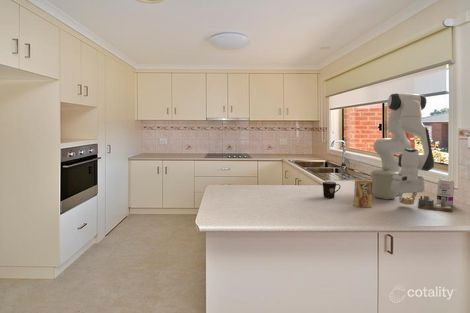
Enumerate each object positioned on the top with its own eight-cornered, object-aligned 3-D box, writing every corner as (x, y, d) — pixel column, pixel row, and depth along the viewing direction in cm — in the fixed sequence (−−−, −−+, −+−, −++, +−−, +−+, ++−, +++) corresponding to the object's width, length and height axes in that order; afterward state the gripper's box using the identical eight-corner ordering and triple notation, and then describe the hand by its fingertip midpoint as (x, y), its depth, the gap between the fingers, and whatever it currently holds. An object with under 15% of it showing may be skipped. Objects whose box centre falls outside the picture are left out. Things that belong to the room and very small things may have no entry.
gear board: (418, 207, 174) (418, 196, 174) (418, 204, 183) (418, 193, 182) (452, 212, 166) (453, 200, 165) (450, 208, 175) (451, 197, 174)
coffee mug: (322, 198, 196) (322, 183, 195) (321, 195, 204) (322, 181, 204) (341, 199, 193) (341, 184, 192) (339, 196, 202) (340, 181, 201)
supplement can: (449, 203, 186) (451, 179, 185) (455, 206, 178) (457, 181, 177) (434, 202, 189) (436, 178, 187) (439, 205, 181) (441, 180, 179)
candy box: (368, 205, 178) (370, 180, 177) (371, 207, 174) (372, 181, 173) (353, 205, 179) (354, 179, 177) (355, 207, 174) (357, 180, 173)
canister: (392, 195, 208) (394, 164, 206) (404, 201, 190) (406, 168, 188) (365, 194, 210) (367, 164, 208) (375, 200, 192) (376, 167, 190)
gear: (418, 204, 175) (419, 196, 175) (418, 202, 181) (418, 194, 181) (433, 206, 171) (434, 198, 171) (433, 203, 178) (433, 196, 177)
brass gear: (399, 203, 174) (399, 198, 174) (399, 200, 181) (400, 195, 180) (413, 205, 171) (414, 200, 170) (414, 202, 177) (414, 197, 176)
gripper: (419, 175, 179) (417, 198, 181) (389, 176, 175) (388, 199, 176) (428, 177, 173) (426, 200, 175) (398, 178, 168) (396, 202, 170)
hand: (407, 200), depth 175 cm, fingers closed on brass gear, 6 cm apart
